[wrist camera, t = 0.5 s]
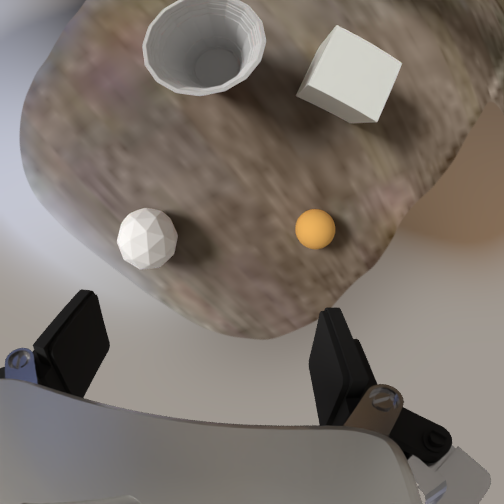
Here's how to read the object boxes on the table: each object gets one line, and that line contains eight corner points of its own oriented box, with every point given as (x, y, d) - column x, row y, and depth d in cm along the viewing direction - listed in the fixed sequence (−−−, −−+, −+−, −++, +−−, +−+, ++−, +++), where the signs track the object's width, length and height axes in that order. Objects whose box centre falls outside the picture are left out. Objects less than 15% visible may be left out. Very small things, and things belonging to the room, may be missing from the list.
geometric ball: (161, 208, 40) (163, 188, 33) (183, 259, 40) (190, 250, 33) (113, 229, 38) (104, 213, 30) (135, 282, 38) (129, 277, 30)
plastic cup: (275, 89, 32) (286, 69, 20) (193, 121, 33) (165, 116, 22) (244, 19, 28) (239, -25, 17) (164, 50, 29) (128, 22, 18)
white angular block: (318, 47, 29) (336, 25, 21) (371, 75, 30) (402, 63, 22) (295, 95, 32) (308, 84, 24) (350, 123, 33) (377, 122, 25)
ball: (303, 198, 37) (310, 208, 32) (336, 214, 38) (347, 225, 33) (286, 232, 39) (291, 246, 34) (319, 246, 39) (327, 261, 35)
